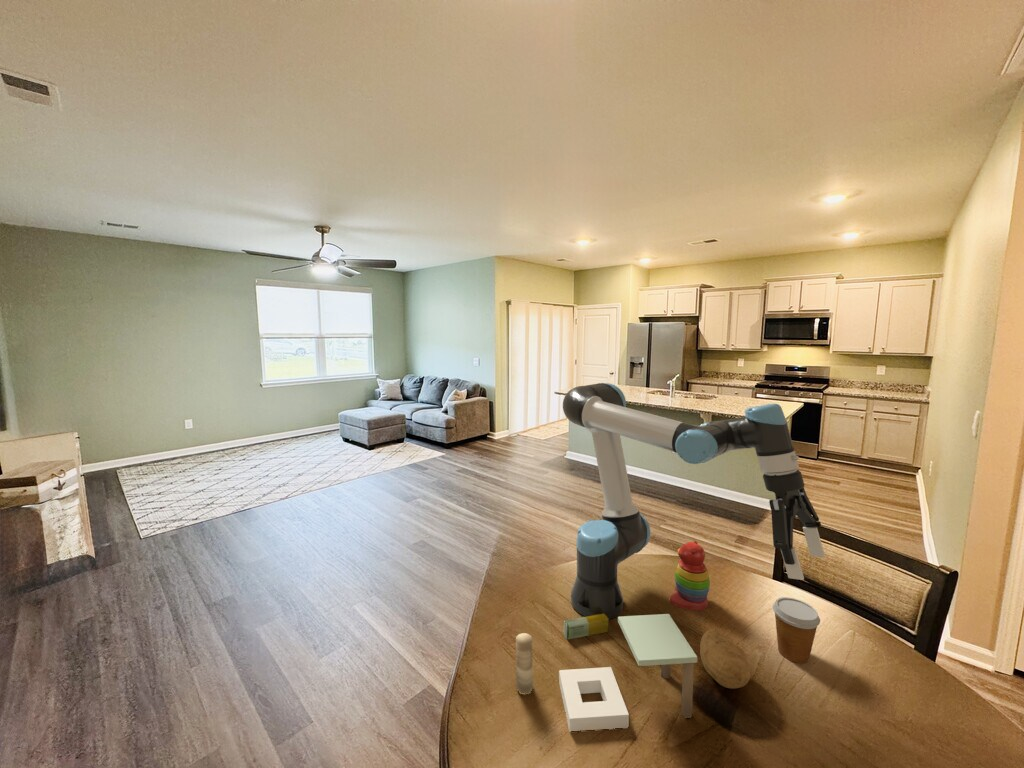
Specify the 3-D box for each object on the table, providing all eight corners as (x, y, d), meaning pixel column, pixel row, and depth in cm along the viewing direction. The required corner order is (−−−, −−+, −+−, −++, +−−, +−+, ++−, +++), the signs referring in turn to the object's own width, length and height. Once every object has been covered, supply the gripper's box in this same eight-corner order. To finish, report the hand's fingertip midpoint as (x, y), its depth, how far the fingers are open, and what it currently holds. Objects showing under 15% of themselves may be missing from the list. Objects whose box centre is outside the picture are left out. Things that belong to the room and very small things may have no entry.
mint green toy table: (617, 673, 96) (618, 616, 94) (667, 669, 96) (668, 613, 95) (637, 725, 83) (638, 660, 81) (694, 720, 84) (697, 656, 82)
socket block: (559, 682, 93) (559, 670, 93) (610, 678, 94) (610, 666, 94) (569, 732, 82) (569, 718, 81) (628, 728, 82) (628, 714, 82)
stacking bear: (677, 585, 129) (678, 531, 127) (712, 597, 123) (714, 540, 121) (667, 603, 120) (669, 546, 118) (704, 616, 115) (707, 556, 113)
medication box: (566, 641, 106) (566, 627, 106) (562, 633, 109) (562, 619, 109) (608, 632, 109) (609, 618, 109) (604, 625, 112) (604, 612, 111)
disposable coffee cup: (825, 671, 95) (829, 623, 94) (780, 665, 97) (783, 618, 96) (805, 642, 105) (808, 598, 103) (764, 637, 106) (766, 594, 105)
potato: (728, 652, 102) (730, 622, 101) (761, 702, 88) (763, 668, 87) (688, 652, 102) (689, 622, 101) (715, 702, 88) (716, 667, 87)
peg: (516, 682, 94) (515, 633, 92) (531, 681, 94) (531, 632, 93) (517, 695, 90) (516, 645, 89) (533, 694, 90) (532, 644, 89)
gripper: (776, 484, 83) (807, 592, 80) (818, 459, 98) (844, 549, 95) (739, 485, 89) (766, 585, 86) (783, 461, 104) (807, 546, 101)
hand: (807, 566), depth 91 cm, fingers open, 13 cm apart
